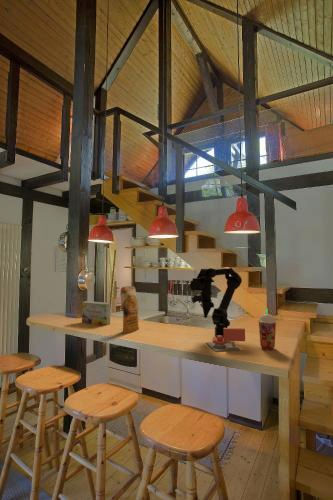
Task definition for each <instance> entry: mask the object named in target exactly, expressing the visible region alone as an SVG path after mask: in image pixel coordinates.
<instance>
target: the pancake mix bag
mask: <svg viewBox="0 0 333 500" xmlns="http://www.w3.org/2000/svg"><path fill="white" fill-rule="evenodd" d="M120 299H121V309H122V318H123V319H122V321H123V322H122V326H123V327H122V334H129V333H130V334H131V333H133V332H135V331H138V330H139V329H140V327H139V305H138V304H139V303H138V295H137V289H136V287H135V285H132V286H130V285H129V286H123V287H121V288H120Z"/></svg>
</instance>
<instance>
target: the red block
mask: <svg viewBox="0 0 333 500" xmlns="http://www.w3.org/2000/svg"><path fill="white" fill-rule="evenodd" d="M227 341H229V342H232V341H234V342H246V329H245V328H236V327H235V328H234V327H233V328H232V327H227V328H224V337H223V336H221V335H218V336H216V337H215V338H213V339H212V342H213V343H215V344H226V343H227Z"/></svg>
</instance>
